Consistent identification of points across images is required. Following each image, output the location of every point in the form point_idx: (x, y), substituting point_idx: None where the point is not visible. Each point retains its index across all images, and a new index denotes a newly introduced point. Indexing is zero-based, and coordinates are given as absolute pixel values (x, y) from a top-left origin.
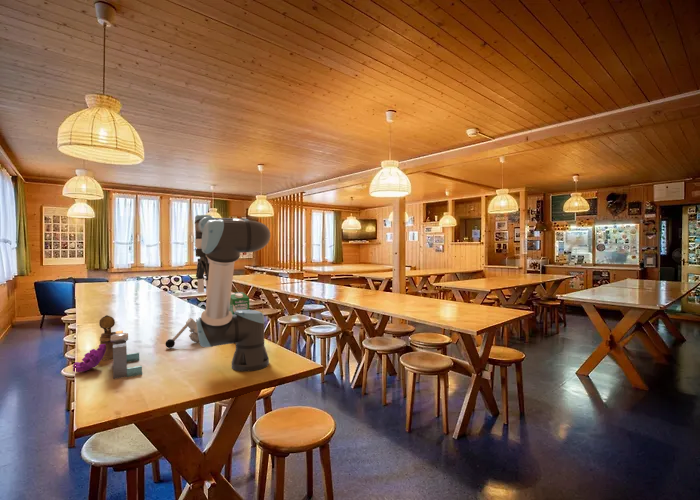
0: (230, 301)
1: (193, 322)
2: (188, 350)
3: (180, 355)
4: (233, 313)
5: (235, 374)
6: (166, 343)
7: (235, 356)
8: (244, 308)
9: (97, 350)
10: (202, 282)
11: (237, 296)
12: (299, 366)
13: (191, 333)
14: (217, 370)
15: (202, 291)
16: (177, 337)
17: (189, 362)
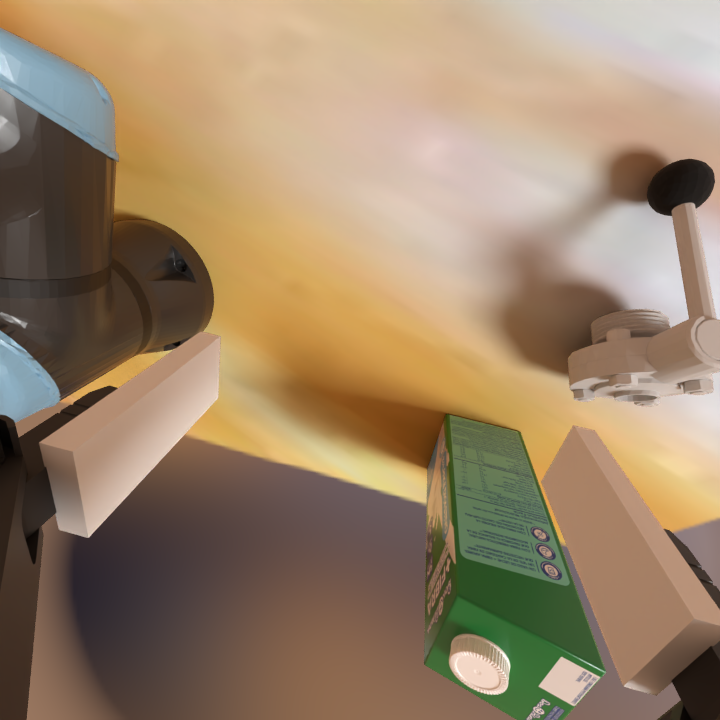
0: (500, 588)
1: (670, 354)
2: (530, 236)
3: (486, 165)
4: (450, 513)
5: None
6: (685, 160)
7: (113, 234)
8: (433, 578)
9: None
10: (604, 596)
11: (465, 643)
12: None
13: (653, 324)
14: (169, 171)
15: (552, 476)
16: (676, 235)
17: (345, 141)
